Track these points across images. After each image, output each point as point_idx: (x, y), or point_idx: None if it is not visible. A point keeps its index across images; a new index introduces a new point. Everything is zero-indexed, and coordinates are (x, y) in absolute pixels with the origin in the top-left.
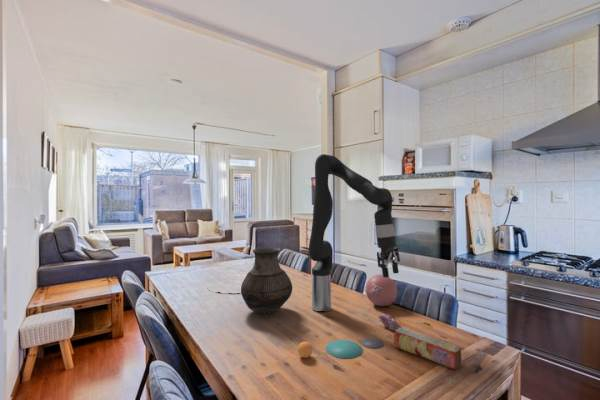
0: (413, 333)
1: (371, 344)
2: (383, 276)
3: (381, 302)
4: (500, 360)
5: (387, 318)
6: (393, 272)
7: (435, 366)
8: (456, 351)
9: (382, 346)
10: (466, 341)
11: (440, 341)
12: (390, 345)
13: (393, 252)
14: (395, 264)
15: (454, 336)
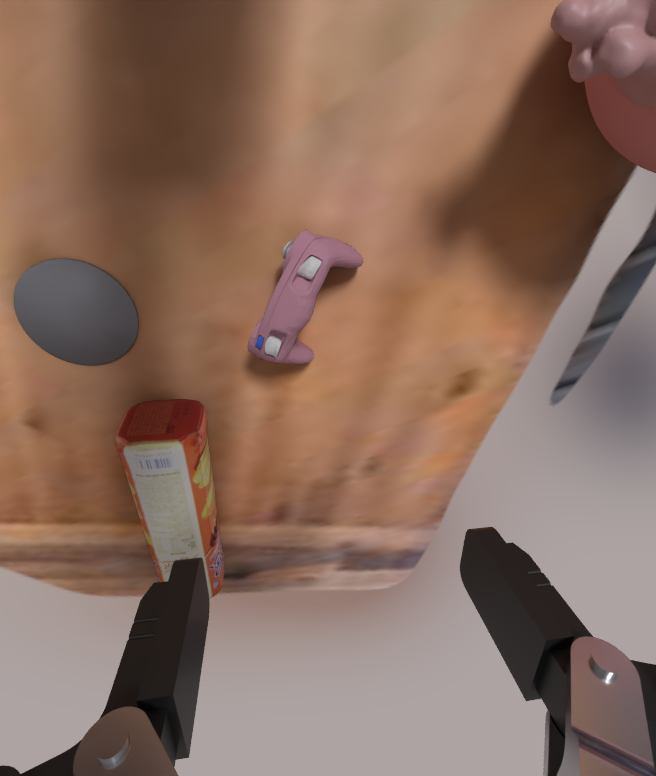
0: (165, 504)
1: (57, 322)
2: (172, 568)
3: (585, 88)
4: (321, 584)
5: (263, 324)
6: (472, 534)
7: None
8: None
9: (97, 363)
10: (383, 514)
11: None
12: (140, 379)
13: None
14: (530, 685)
15: (398, 484)
